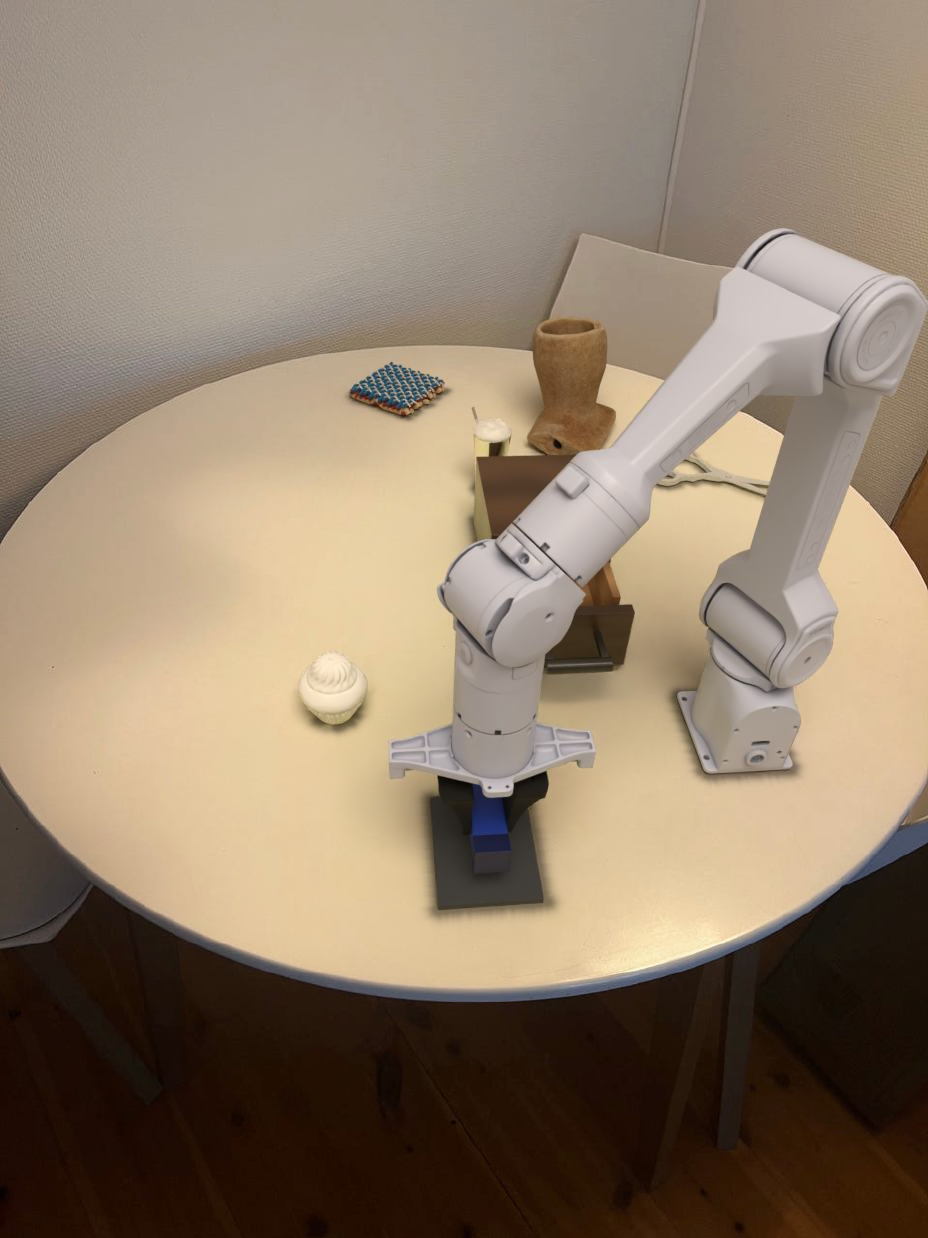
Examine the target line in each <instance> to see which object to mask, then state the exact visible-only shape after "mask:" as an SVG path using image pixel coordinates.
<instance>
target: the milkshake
mask: <svg viewBox="0 0 928 1238" xmlns="http://www.w3.org/2000/svg"><path fill="white" fill-rule="evenodd" d="M471 411H472V415H473V419H474V422H475V425H474V426H473V429H472V433H473V435H472V436H473V453H474V476H476V457H486V456H509V450H510V445H511V440H512V434H513V431H512V430H513V429H512V427H511V425H510V424H509V423H508V422H507V421H506V420H504V419H502V417H497V418H496V417H495V418H493V417H492V418H491V417H489V418H485V419H482V420H480V421H479V418H478V415H477V412H476V409H475V406H472V407H471Z"/></svg>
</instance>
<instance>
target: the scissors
mask: <svg viewBox="0 0 928 1238" xmlns="http://www.w3.org/2000/svg"><path fill="white" fill-rule="evenodd" d="M685 460H686V461H688V462H691V463H694V464H697V465H698V466H699V467H700V468H702V469H703V470H704V471H705V472H701V473H695V474H686V473H681V472H678V471H676V470H675V469H674V470H672V471H671V472H670V473H669V474H668V475H667V476H669V477H672V478H663V479H662V480H661V481H660V482H659V483H658V484H657V485H659V486H666V487H669V486H675V485H678V484H679V483H680V482H684V481H688V482H694V483H695V482H696V481H699V480H700V481H701V480H707V481H711V482H712V481H713V482H726V483H729V484H730V483H731V484H733V485H736V486H739V487H741V488H744V489H747V490H749V491H752V492H756V493H758V494H761V495H764V496H766V493H767V490H764V489H762V488H760V487H758V486H755V485H764V486H769V484H770V481H768V480H762V479H757V478H751V477H746V476H740V475H735V474H731V473H729V472H727V471H725V470H723V469H720V468H717V467H715V466H713V465H711V464H709V463H706V462H705V460H704V459H703V458H700V457H697V456H695V454H694V452H693V453H692V454H691V455H689V456H688V457H687V458H686V459H685ZM685 460H684V461H685ZM753 484H754V485H753Z"/></svg>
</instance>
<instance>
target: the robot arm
mask: <svg viewBox="0 0 928 1238" xmlns="http://www.w3.org/2000/svg"><path fill="white" fill-rule="evenodd" d="M712 307H713V308H712V321H711V323H710V324H709V326H708V327H707V328H706V329H705V330H704V332H703V333H702V334H701V335H700V336H699V338H698V339H697V340H696V341H695V342H694V344H693V345H692V346H691V348H690V349H689V350H688V351H687V353H686V354H685V355H684V356H683V358H682V359H681V360H680V361H679V363H677V365H676V366H675V367H674V368H673V369H672V371H671V372H670V373H669V375H668V376H667V377H666V378H665V379H664V381H663V382H662V383H661V384H660V385H659V387H658V388H657V389H656V391H655V392H654V393H653V394H652V395H651V397H650V398H649V399H648V400H647V401H646V403H644V405H643V406H642V407H641V409H640V410H639V411H638V412H637V413H636V414H635V416H634V417H633V419H632V420H631V421H630V422H629V423H628V424H627V426H626V427H625V429H623V431H622V432H621V433H620V435H618V437H617V438H616V439H615V440H614V441H613V443H612V444H611V445H610V447H607V448H602V449H601V448H600V449H599V450H591V451H583V452H579V453H578V454H577V455H576V456H575V457H574V458H573V459H572V460H571V461H570V462H569V463H568V464H567V465H566V466H565V467H564V469H563V470H562V471H561V472H560V473H559V474H558V475H557V476H556V477H555V478H554V479H553V480H552V481H551V482H550V483H549V484H548V485H547V487H546V488H545V489H544V490H543V491H542V492H541V493H540V494H539V495H538V496H537V497H536V498H535V499H534V500H533V501H532V502H531V503H530V504H529V505H528V507H527V508H526V509H525V510H524V511H523V512H522V513H521V514H520V515H519V516H518V517H517V518H516V519H515V520H514V521H513V523H514V524H515V525H516V526H517V527H518V528H519V529H520V530H522V531H523V532H524V533H525V534H526V536H525V535H524V534H523V533H522V532H521V531H520V530H519V529H518V528H516V527H515V526H514V525H513V524H512V523H511V524H510V525H509V526H508V528H507V529H506V530H505V531H504V532H503V533H502V534H501V535H500V536H499V537H498V538H497V539H485V540H481V541H479V542H477V541H475V542H474V543H471V544H469V545H468V546H466V547H465V548H464V549H462V550H461V551H460V552H459V553H458V554H457V555H456V556H455V557H454V558H453V560H452V562H451V563H450V565H449V567H448V568H447V570H446V572H445V573H446V574H445V576H444V581H443V582H441V583H440V584H438V585H437V586H436V593H437V594H436V595H437V597H438V600H439V602H440V604H441V605H442V606H443V607H444V609H445V610H446V611H448V612H449V613H450V614H452V629H453V630H454V631H455V637H454V639H455V640H454V641H455V642H454V669H453V692H452V693H453V695H452V723H451V722H450V723H449V724H445V725H442V726H440V727H437V728H433V729H430V730H427V731H425V732H421V733H418V734H416V735H412V736H409V737H404V738H397V739H388V740H387V742H388V744H387V747H388V770H389V779H390V780H393V779H397V780H398V779H404V778H405V777H406V771H407V772H408V771H417V772H422V773H426V774H430V775H435V776H437V788H438V789H437V790H438V794H439V796H440V797H441V800H442V802H443V803H444V804H446V805H447V806H449V807H450V808H451V809H452V810H453V812H454V813H455V815H456V816H457V818H458V820H459V822H460V825H461V829H462V834H463V835H469V834H471V830H472V820H471V813H472V807H473V803H474V801H475V800H474V792H473V784H477V785H480V786H481V787H482V792H483V794H484V796H486V797H489V798H496V797H502V798H503V805H504V811H505V818H506V824H507V831H508V832H512V831H513V829H514V827H515V825H516V824H517V822H518V820H519V819H520V817H521V816H522V815H523V813H524V812H525V811H526V810H527V809H528V810H529V808H530V807H532V806H533V805H534V804H535V803H537V802H539V801H541V800H543V799H545V798H546V796H547V794H548V792H549V788H550V787H549V786H550V781H549V776H548V771H551V770H553V769H555V768H558V767H561V766H563V765H566V764H569V763H574V762H575V763H576V766H577V768H579V769H593V768H594V763H595V759H596V754H597V749H596V745H595V741H594V737H593V733H592V730H591V729H571V728H567V727H566V728H565V727H560V726H556V725H552V724H547V723H542V722H538V714H539V704H540V697H541V690H542V683H543V675H544V669H545V668H544V661H545V654H546V653H547V652H548V651H550V650H551V649H552V648H553V647H554V646H555V645H556V644H558V643H559V642H560V641H561V640H562V638H563V637H564V636H565V634H566V632H567V631H568V629H569V627H570V625H571V622H572V620H573V616H574V613H575V611H576V609H577V608H578V606H579V605H580V604H581V603H582V602H583V598H584V597H585V596H586V594H585V593H584V592H583V591H582V590H581V589H580V588H579V587H578V586H577V585H576V584H575V583H574V582H573V581H572V580H571V579H570V578H569V577H568V576H570V577H571V578H572V579H573V580H574V581H575V582H576V583H577V584H578V585H579V586H580V587H581V588H583V587H584V586H585V585H586V584H587V583H588V582H589V581H590V580H591V578H592V577H593V576H594V575H595V574H596V573H597V572H598V571H599V570H600V569H601V568H602V567H603V566H604V565H605V564H606V563H607V562H608V561H609V560H610V559H611V560H612V558H613V557H614V556H615V555H616V554H617V553H618V552H619V551H620V550H621V549H622V548H624V546H625V545H626V544H627V543H628V542H629V540H631V539H632V537H634V536H635V534H637V532H639V530H640V529H642V527H643V526H644V525H645V524H646V523H647V522H648V521H649V520H650V516H651V509H652V496H653V491H654V488H655V487H656V486H657V485H659V484H658V483H659V482H660V481H661V480H662V479H666V477H667V476H669V475H668V474H669V473H670V472H671V471H672V470H674V471H675V469H676V468H677V467H678V466H680V465H681V464H682V463H683V462H684V461H685V459H686V458H687V457H688V456H689V455H691V454H692V453H693V454H694V452H696V450H698V449H699V448H700V447H701V446H702V445H703V444H704V443H706V441H707V440H709V439H710V438H711V437H712V436H713V435H714V434H715V433H716V432H718V431H719V430H720V429H721V428H722V427H723V426H725V425H726V424H727V423H728V422H729V421H731V420H732V419H733V417H735V416H736V415H737V414H738V413H739V412H740V411H741V410H743V409H744V408H745V407H746V406H747V405H748V404H750V403H751V402H752V401H753V400H754V399H755V398H756V397H757V396H771V397H772V396H774V397H775V396H778V397H779V396H780V397H795V398H794V402H793V404H792V406H791V407H792V408H791V411H790V414H789V418H788V421H787V424H786V428H785V431H784V434H783V438H782V440H781V444H780V448H779V451H778V454H777V457H776V461H775V464H774V467H773V470H772V473H771V477H770V481H769V482H770V484H769V485H768V487H767V490H766V491H767V493H766V495H765V497H764V500H763V504H762V507H761V510H760V514H759V518H758V519H757V523H756V526H755V530H754V533H753V537H752V540H751V544H750V547H749V549H745V550H742V551H739V552H737V553H734V554H733V555H731V556H730V557H728V558H726V559H725V560H723V561H722V562H721V563H720V564H718V567H717V572H716V574H715V575H714V578H713V580H712V581H711V583H710V585H709V586H708V587H707V588H706V590H705V591H704V593H703V596H702V597H701V601H700V605H699V610H698V618H699V621H700V622H701V623H702V625H704V626H705V627H707V628H708V629H707V631H706V635H705V640H706V641H707V642H708V644H709V645H710V648H709V651H708V654H707V657H706V658H707V659H706V661H705V663H704V668H703V671H702V674H701V678H700V681H699V684H698V688H697V690H685V691H683V690H682V691H678V692H677V694H676V698H677V701H678V704H679V707H680V710H681V712H682V715H683V718H684V720H685V721H684V722H685V723H686V726H687V729H688V731H689V734H690V738H691V740H692V742H693V746H694V748H695V750H696V752H697V756H698V758H699V761H700V764H701V766H702V769H703V771H704V772H705V773H707V774H727V773H729V774H730V773H744V772H745V773H746V772H747V773H748V772H763V771H764V772H765V771H782V770H784V771H785V770H791V769H792V768H793V765H794V763H793V759H792V758H791V756H790V754H789V753H790V751H791V749H792V747H793V743H794V742H795V739H796V737H797V734H798V733H799V731H800V728H801V725H802V717H801V716H802V715H801V712H800V710H799V708H798V704H797V702H796V696H795V691H794V690H795V689H794V688H795V687H796V686H799V685H801V684H802V683H804V682H806V681H807V680H808V679H809V678H811V677H812V676H813V675H814V674H815V673H816V672H817V671H819V669H821V667H822V666H823V665H824V663H825V662H826V661H827V659H828V658H829V656H830V655H831V652H832V650H833V647H834V639H835V637H834V636H835V632H834V631H835V630H834V626H835V623H836V619H837V617H838V614H839V611H840V610H839V608H838V605H837V604H836V601H835V600H834V598H833V596H832V594H831V592H830V591H829V588H828V587H827V585H826V583H825V581H824V579H823V578H822V576H821V573H820V571H819V568H820V565H821V563H822V560H823V557H824V554H825V552H826V550H827V547H828V544H829V542H830V539H831V535H832V533H833V531H834V528H835V525H836V524H837V519H838V517H839V514H840V512H841V509H842V508H843V507H842V506H843V503H844V501H845V498H846V497H847V492H848V490H849V488H850V486H851V482H852V479H853V477H854V474H855V473H856V469H857V467H858V464H859V461H860V458H861V457H862V454H863V450H864V448H865V445H866V442H867V440H868V437H869V435H870V432H871V429H872V427H873V424H874V421H875V418H876V416H877V414H878V411H879V408H880V405H881V402H882V399H883V398H884V397H887V398H891V397H893V396H895V394H896V393H897V391H898V388H899V386H900V384H901V381H902V379H903V377H904V374H905V372H906V369H907V367H908V364H909V361H910V359H911V356H912V353H913V350H914V348H915V346H916V343H917V341H918V339H919V335H920V333H921V330H922V328H923V325H924V322H925V319H926V316H927V313H928V300H927V298H926V297H925V295H924V294H923V292H922V291H921V290H920V288H919V287H918V285H917V284H916V282H914V281H913V280H912V279H910V278H908V277H906V276H904V275H897V274H892V273H889V272H887V271H884V270H882V269H880V268H877V267H875V266H872V265H870V264H868V263H866V262H863V261H860V260H858V259H856V258H853V257H851V256H848V255H846V254H844V253H841V252H839V251H837V250H834V249H832V248H829V247H827V246H825V245H822V244H820V243H818V242H815V241H813V240H811V239H809V238H806V237H804V236H803V235H801V234H800V233H798V232H797V231H795V230H793V229H791V228H788V227H787V228H786V227H781V228H774V229H772V230H769V231H768V232H765V233H764V234H762V235H761V236H759V237H758V238H757V239H756V240H754V241H753V243H751V244H750V246H749V247H747V248H746V250H745V251H744V253H743V254H742V255H741V256H740V258H739V259H738V260H737V262H736V264H735V265H734V267H733V268H732V269H731V270H730V271H729V272H727V274H725V275H724V276H723V277H722V278H720V281H719V282H718V286H717V289H716V292H715V297H714V301H713V306H712ZM472 783H473V784H472Z"/></svg>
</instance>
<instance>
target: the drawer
mask: <svg viewBox="0 0 928 1238" xmlns="http://www.w3.org/2000/svg"><path fill="white" fill-rule="evenodd" d="M568 577H569V578H570V579H571V580H572V581H573V582H574V583H575V584H576V585H577V586H578V587H579V588H580V589H581V590H582V591H583V592H584V593H585V594H586V596H585V597H584V598H583V602H582V603H581V604H580V605H579V606H578V608H577V609H576V611H575V613H574V616H573V620H572V622H571V625H570V627H569V629H568V631H567V632H566V634H565V636H564V637H563V638H562V640H561V641H560V642H559V643H558V644H556V645H555V646H554V647H553V648H552V649H551V650H550V651H548V652H547V653H546V654H545V661H544V668H543V669H544V672H545V675H546V676H554V675H556V676H557V675H558V676H559V675H574V674H575V675H576V674H577V675H578V674H579V675H580V674H598V673H613V671H614V666H622V665H623V666H624V665H625V661H626V657H627V656H626V655H627V651H628V647H629V642H630V637H631V633H632V629H633V628H632V627H633V623H634V619H635V614H636V612H635V609H634V606H633V603H630V604H629V603H628V604H626V603H625V604H624V603H623V604H621V598H622V596H621V593H620V590H619V587H618V584H617V581H616V579H615V575H614V572H613V569H612V567H611V562H610V563H609V561H608V562H607V563H606V564H605V565H604V566H603V567H602V568H601V569H600V570H599V571H598V572H597V573H596V574H595V575H594V576H593V577H592V578H591V580H590V581H589V582H588V583H587V584H586V585H585V586H584V587H583V588H581V587H580V586H579V585H578V584H577V583H576V582H575V581H574V580H573V579H572V578H571V577H570V576H568Z"/></svg>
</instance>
